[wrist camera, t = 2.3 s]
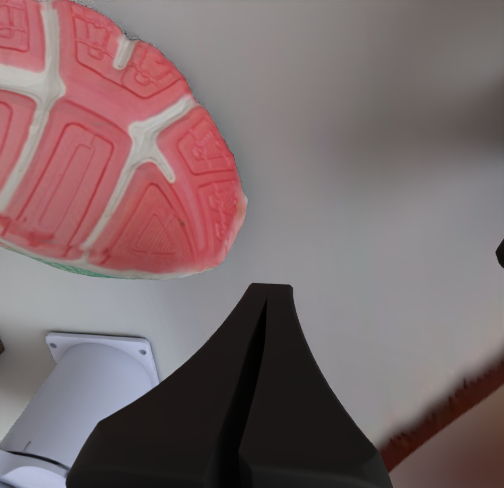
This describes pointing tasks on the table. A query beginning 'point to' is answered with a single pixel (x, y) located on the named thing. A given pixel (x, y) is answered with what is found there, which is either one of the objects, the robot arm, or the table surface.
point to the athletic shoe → (107, 151)
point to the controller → (500, 254)
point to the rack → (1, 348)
